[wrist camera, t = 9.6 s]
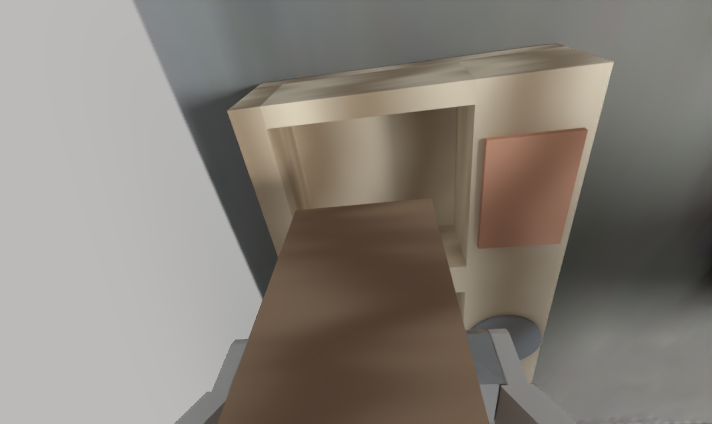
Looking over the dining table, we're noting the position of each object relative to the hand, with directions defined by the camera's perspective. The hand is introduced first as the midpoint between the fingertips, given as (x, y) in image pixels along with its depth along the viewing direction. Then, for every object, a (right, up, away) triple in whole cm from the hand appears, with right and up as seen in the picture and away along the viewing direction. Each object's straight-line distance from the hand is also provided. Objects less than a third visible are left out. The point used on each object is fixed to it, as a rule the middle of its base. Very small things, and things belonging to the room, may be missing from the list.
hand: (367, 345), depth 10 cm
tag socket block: (+4, +3, +14) cm, 14 cm away
